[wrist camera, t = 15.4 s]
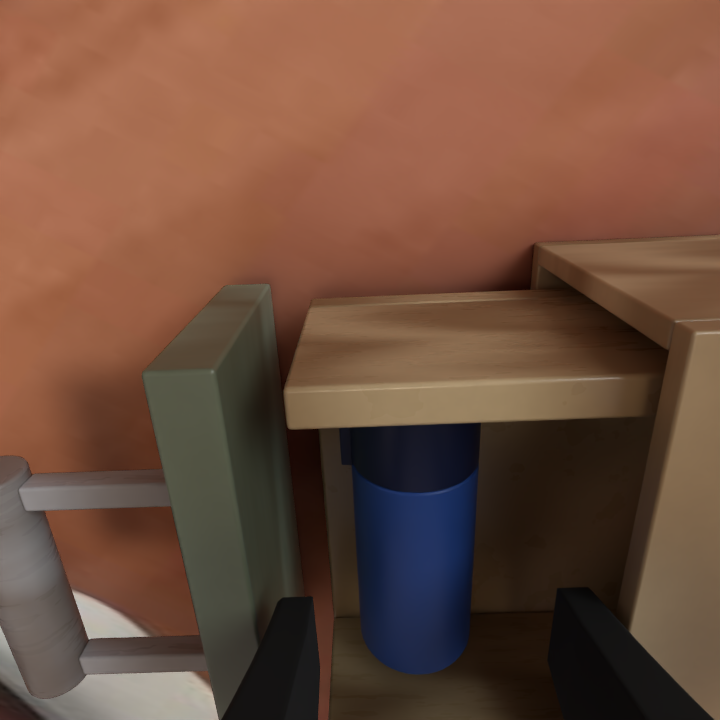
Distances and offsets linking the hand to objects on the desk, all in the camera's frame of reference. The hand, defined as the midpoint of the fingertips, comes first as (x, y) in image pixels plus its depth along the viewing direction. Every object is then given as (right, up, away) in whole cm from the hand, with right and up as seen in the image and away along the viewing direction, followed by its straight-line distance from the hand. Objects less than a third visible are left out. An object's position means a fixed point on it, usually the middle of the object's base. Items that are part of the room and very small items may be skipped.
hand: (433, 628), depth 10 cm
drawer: (-1, +2, +5) cm, 5 cm away
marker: (0, +1, +3) cm, 3 cm away
